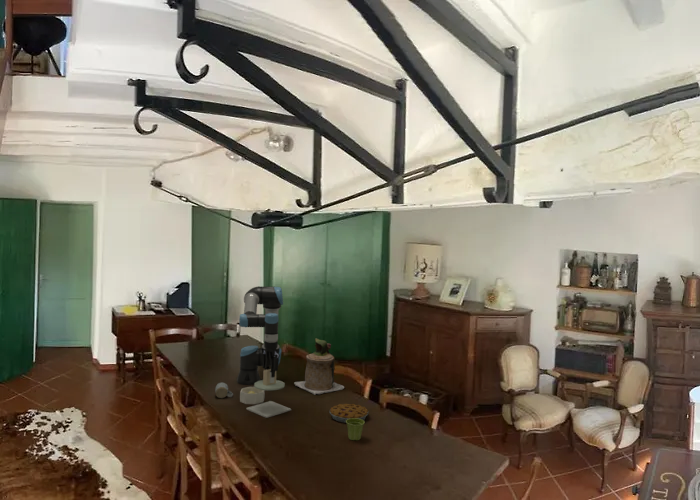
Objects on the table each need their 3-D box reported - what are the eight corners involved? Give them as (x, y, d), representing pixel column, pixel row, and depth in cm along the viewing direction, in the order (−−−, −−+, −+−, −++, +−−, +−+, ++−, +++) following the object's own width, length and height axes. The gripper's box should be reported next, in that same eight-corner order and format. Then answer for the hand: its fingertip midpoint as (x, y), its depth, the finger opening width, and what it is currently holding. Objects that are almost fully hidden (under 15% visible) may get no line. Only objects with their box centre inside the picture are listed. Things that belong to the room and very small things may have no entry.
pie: (373, 413, 311) (373, 405, 311) (361, 427, 291) (361, 418, 290) (337, 408, 318) (337, 399, 318) (323, 420, 298) (323, 411, 297)
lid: (271, 379, 321) (271, 364, 321) (290, 386, 310) (291, 370, 310) (248, 385, 309) (248, 369, 308) (267, 392, 297) (267, 375, 297)
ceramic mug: (215, 399, 325) (215, 386, 324) (215, 394, 333) (215, 382, 332) (233, 398, 327) (233, 386, 327) (232, 394, 335) (233, 382, 335)
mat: (270, 402, 323) (270, 400, 323) (291, 410, 311) (291, 408, 311) (246, 409, 310) (246, 407, 310) (266, 417, 298) (266, 416, 298)
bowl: (254, 394, 335) (254, 385, 335) (268, 400, 326) (268, 390, 326) (235, 399, 325) (236, 390, 324) (250, 405, 316) (250, 395, 315)
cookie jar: (315, 396, 338) (317, 345, 336) (292, 386, 356) (294, 337, 354) (345, 389, 354) (347, 340, 352) (322, 379, 373) (324, 333, 371)
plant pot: (352, 433, 281) (352, 416, 281) (367, 437, 276) (368, 421, 276) (341, 438, 274) (342, 421, 273) (357, 443, 268) (357, 426, 268)
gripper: (256, 339, 311) (255, 380, 312) (275, 344, 300) (273, 386, 301) (267, 337, 316) (265, 377, 317) (285, 342, 306) (284, 383, 307)
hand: (269, 381), depth 309 cm, fingers closed on lid, 3 cm apart
